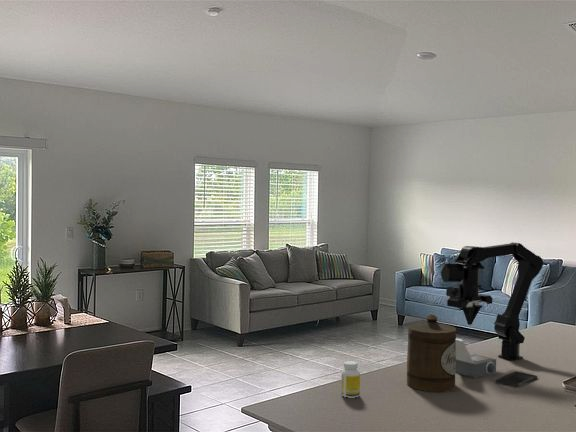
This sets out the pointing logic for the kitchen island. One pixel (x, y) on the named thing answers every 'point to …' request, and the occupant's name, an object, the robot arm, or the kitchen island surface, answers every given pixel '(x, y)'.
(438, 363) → the wooden container
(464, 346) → the side door
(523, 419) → the kitchen island surface
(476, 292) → the robot arm
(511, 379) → the phone
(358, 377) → the supplement bottle
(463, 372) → the camera case
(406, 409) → the kitchen island surface
